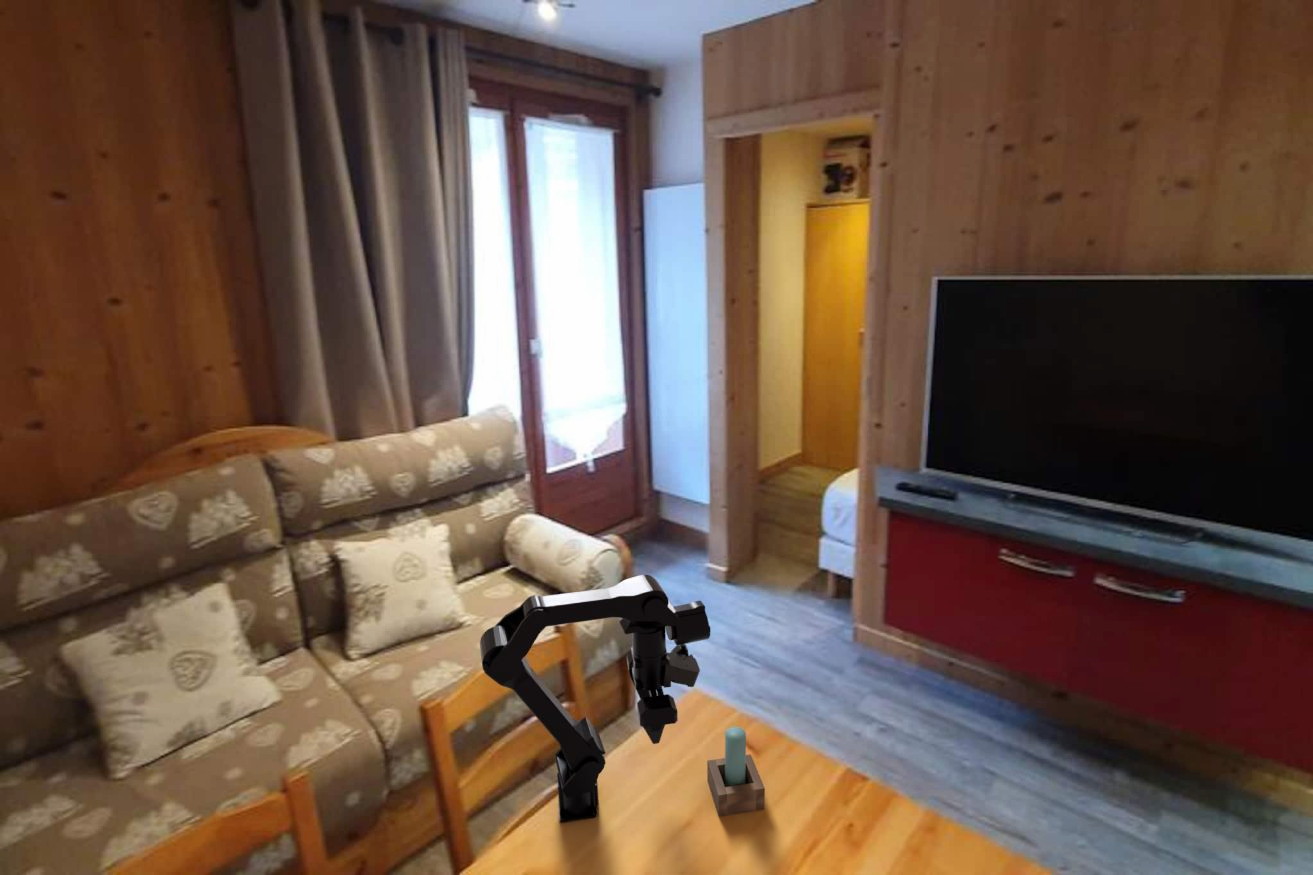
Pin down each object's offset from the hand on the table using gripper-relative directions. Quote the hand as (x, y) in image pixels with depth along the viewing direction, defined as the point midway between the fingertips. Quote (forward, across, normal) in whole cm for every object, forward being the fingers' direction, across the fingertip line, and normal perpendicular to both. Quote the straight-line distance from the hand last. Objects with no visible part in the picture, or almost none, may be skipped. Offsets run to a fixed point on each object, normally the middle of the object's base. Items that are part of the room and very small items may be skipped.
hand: (651, 724), depth 120 cm
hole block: (+13, -5, -14) cm, 20 cm away
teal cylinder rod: (+13, -5, -14) cm, 20 cm away
